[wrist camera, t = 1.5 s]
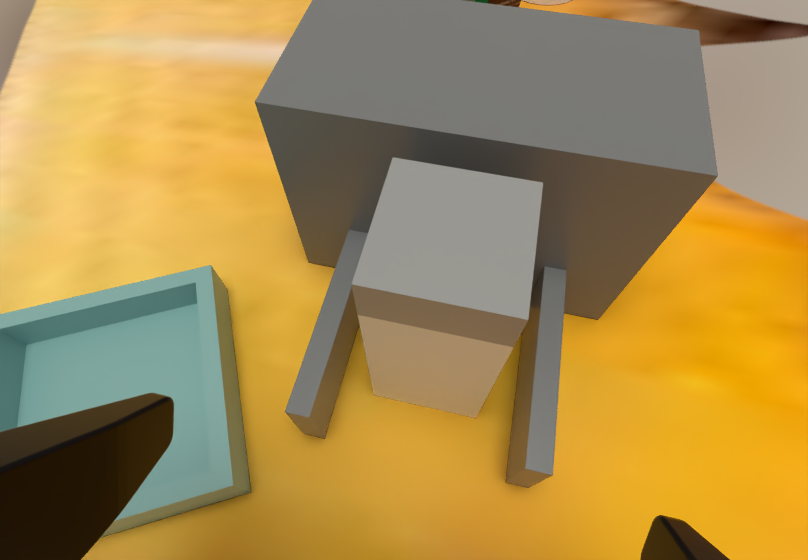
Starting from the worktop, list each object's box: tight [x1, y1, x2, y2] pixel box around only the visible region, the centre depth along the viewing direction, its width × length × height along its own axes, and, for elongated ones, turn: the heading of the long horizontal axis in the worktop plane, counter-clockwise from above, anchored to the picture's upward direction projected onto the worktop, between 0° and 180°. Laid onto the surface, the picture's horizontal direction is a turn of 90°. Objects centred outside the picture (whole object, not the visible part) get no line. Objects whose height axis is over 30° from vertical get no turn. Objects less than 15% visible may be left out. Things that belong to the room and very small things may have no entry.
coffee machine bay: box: [255, 0, 718, 488], centre depth 21 cm, size 17×16×11 cm
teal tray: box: [0, 265, 251, 538], centre depth 22 cm, size 11×11×2 cm
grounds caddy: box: [351, 157, 543, 418], centre depth 19 cm, size 5×5×11 cm
